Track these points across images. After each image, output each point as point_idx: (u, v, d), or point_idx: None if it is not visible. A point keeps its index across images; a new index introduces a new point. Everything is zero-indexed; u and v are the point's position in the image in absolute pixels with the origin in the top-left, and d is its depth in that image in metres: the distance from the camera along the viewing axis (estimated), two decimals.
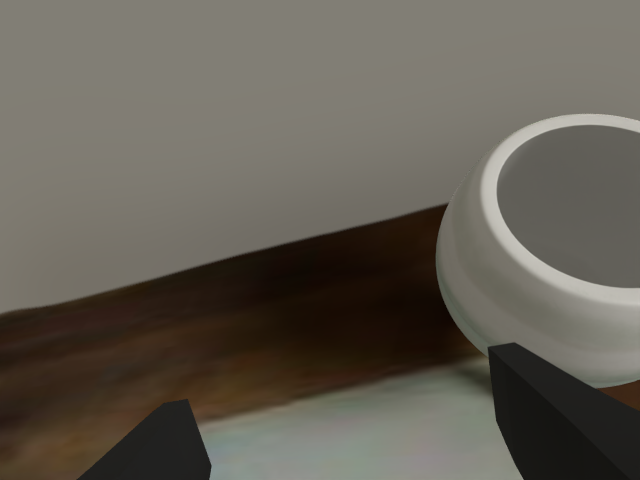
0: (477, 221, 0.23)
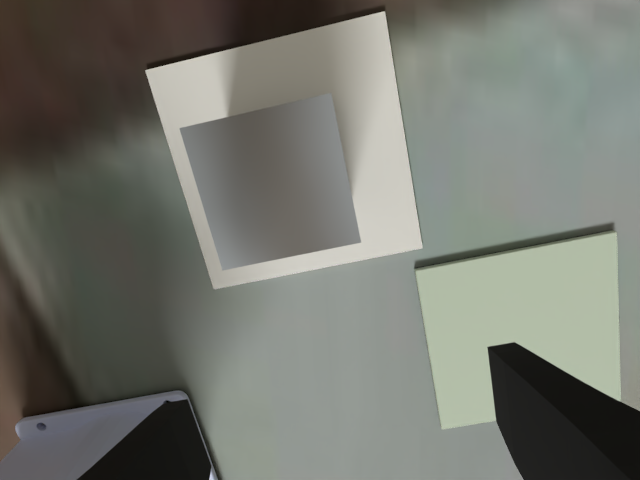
0: None
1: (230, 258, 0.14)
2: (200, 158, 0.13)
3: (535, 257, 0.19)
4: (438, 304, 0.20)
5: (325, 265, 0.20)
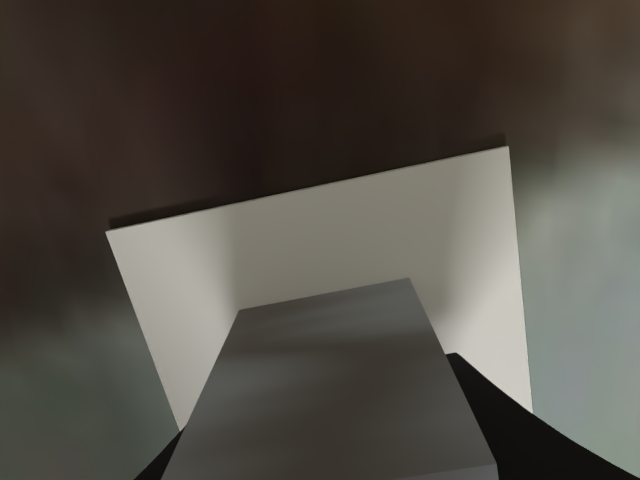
0: None
1: None
2: None
3: None
4: None
5: None
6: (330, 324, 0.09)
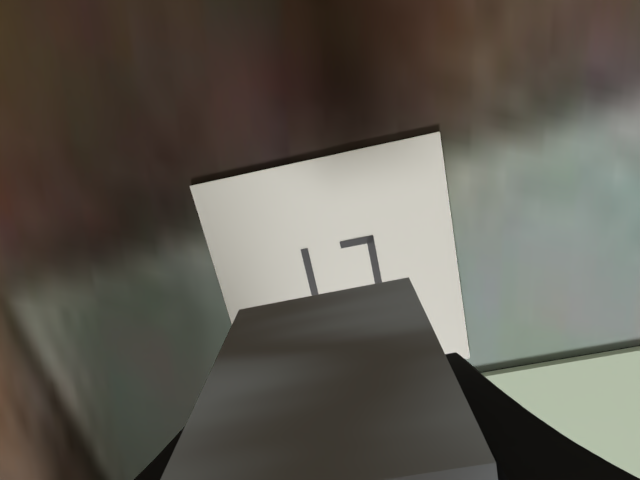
0: None
1: None
2: None
3: (586, 368, 0.19)
4: None
5: None
6: (329, 324, 0.09)
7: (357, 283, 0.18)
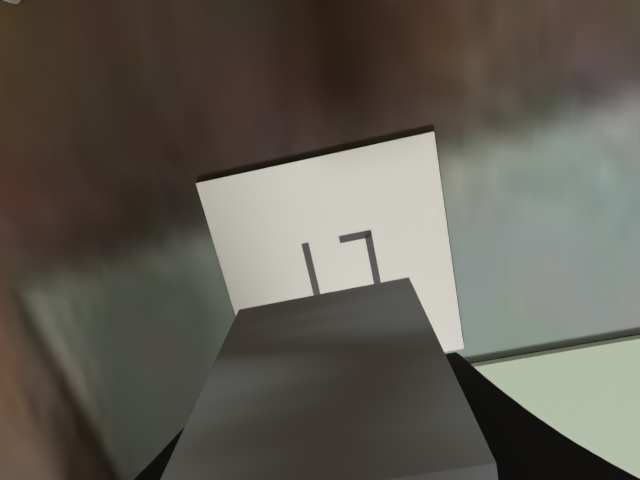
0: None
1: None
2: None
3: (575, 358, 0.20)
4: None
5: None
6: (330, 324, 0.09)
7: (355, 276, 0.19)
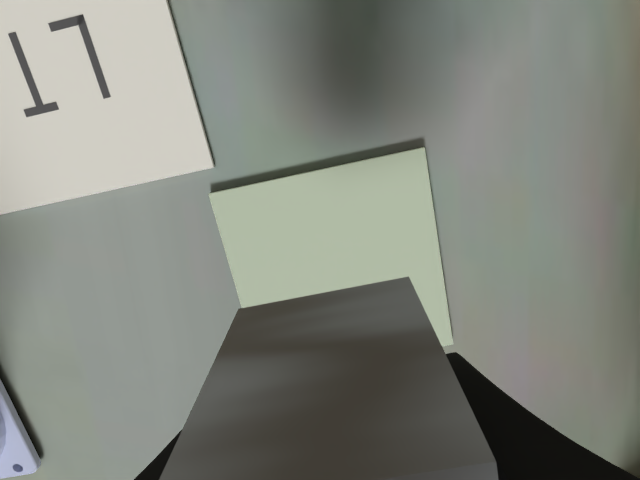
0: None
1: None
2: None
3: (338, 177, 0.17)
4: (238, 233, 0.18)
5: (109, 188, 0.18)
6: (329, 323, 0.09)
7: (76, 75, 0.17)
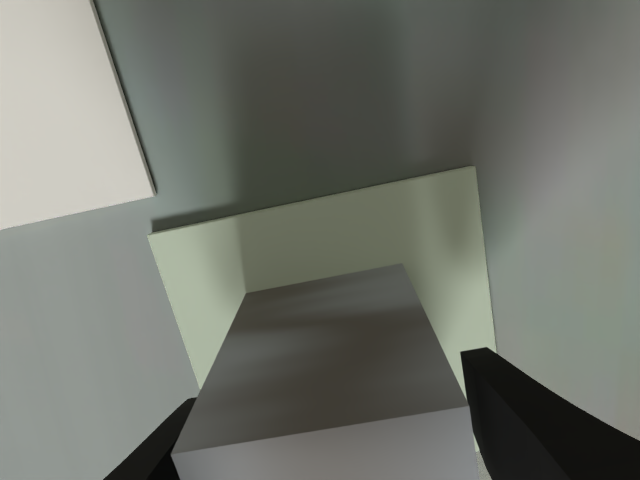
0: None
1: None
2: None
3: (343, 212, 0.11)
4: (194, 291, 0.12)
5: None
6: (329, 303, 0.10)
7: None
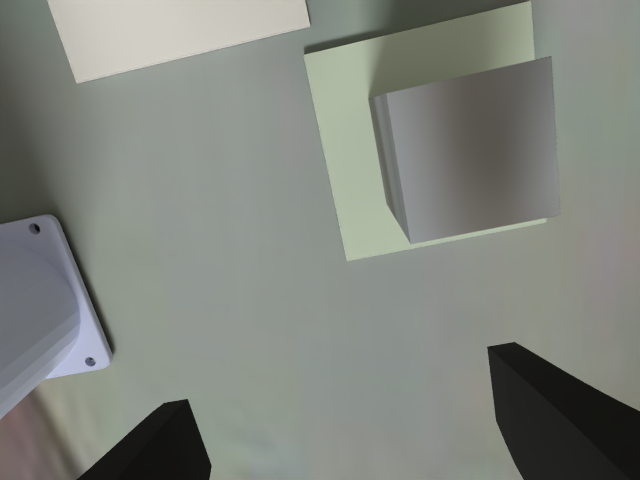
0: None
1: (421, 232, 0.13)
2: (404, 125, 0.12)
3: (439, 35, 0.17)
4: (332, 98, 0.18)
5: (200, 49, 0.17)
6: None
7: None
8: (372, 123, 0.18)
